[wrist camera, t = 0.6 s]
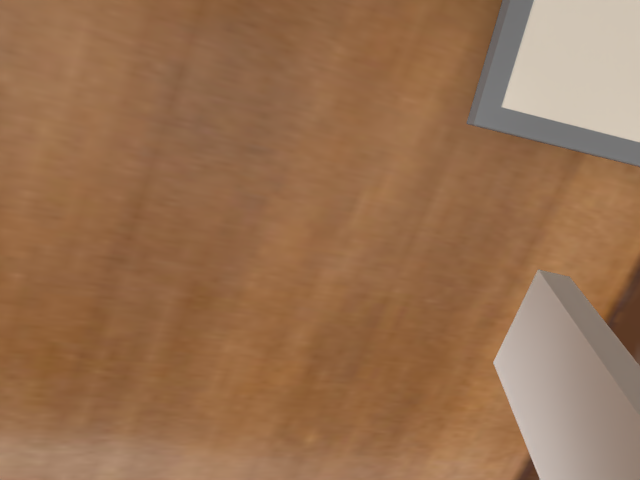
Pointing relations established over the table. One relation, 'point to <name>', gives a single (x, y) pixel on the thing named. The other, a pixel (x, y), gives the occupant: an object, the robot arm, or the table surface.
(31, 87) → the table surface
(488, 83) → the plate
